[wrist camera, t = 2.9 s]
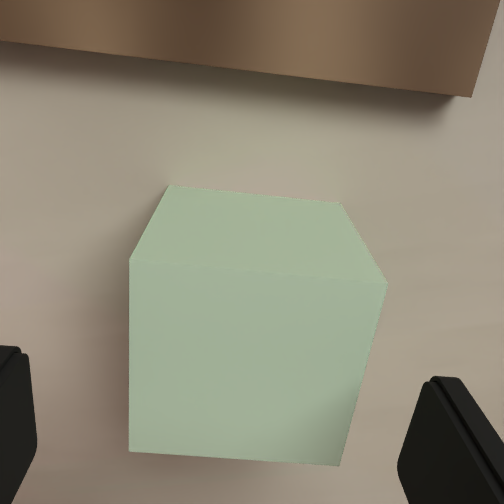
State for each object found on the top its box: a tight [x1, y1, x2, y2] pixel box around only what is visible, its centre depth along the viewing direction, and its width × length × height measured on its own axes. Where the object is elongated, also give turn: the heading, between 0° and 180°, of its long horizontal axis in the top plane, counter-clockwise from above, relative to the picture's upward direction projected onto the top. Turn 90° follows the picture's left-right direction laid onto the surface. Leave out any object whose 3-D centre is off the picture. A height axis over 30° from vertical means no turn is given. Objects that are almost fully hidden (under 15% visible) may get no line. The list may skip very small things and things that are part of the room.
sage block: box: [129, 185, 388, 466], centre depth 15 cm, size 6×6×6 cm
